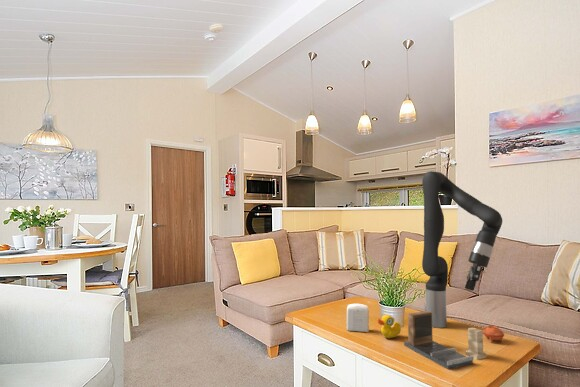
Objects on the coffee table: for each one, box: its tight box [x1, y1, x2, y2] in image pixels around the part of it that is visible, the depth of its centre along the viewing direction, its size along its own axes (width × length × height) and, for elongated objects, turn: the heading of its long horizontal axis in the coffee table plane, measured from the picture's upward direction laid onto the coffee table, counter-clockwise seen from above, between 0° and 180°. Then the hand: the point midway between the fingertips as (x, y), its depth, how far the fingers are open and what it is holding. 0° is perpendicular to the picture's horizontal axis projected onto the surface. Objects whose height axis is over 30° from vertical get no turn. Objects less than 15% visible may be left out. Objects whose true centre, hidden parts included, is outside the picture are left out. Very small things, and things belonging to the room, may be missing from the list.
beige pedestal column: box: [465, 327, 487, 360], centre depth 134 cm, size 5×5×10 cm
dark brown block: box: [407, 310, 434, 345], centre depth 143 cm, size 4×10×12 cm, turn 112°
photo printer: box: [346, 303, 370, 333], centre depth 162 cm, size 10×4×12 cm, turn 81°
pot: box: [482, 325, 505, 344], centre depth 148 cm, size 8×8×7 cm
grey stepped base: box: [403, 340, 474, 370], centre depth 135 cm, size 23×12×3 cm, turn 22°
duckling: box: [377, 314, 401, 339], centre depth 152 cm, size 11×5×10 cm, turn 109°
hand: (468, 289), depth 148 cm, fingers open, 8 cm apart
